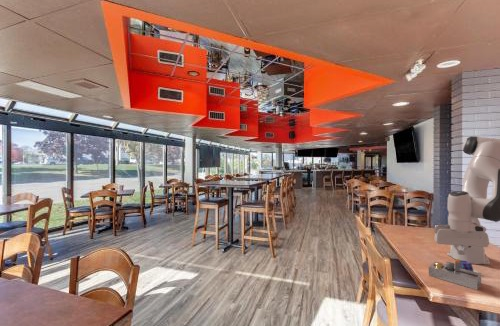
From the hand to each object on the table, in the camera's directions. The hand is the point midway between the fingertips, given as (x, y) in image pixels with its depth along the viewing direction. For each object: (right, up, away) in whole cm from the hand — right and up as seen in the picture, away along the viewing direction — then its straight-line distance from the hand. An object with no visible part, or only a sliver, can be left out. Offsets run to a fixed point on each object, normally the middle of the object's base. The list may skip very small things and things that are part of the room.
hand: (461, 254), depth 117 cm
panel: (-2, -13, +3) cm, 13 cm away
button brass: (-6, -10, +6) cm, 14 cm away
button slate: (-3, -9, +3) cm, 10 cm away
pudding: (+10, -13, +10) cm, 20 cm away
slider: (-1, -8, +1) cm, 8 cm away
